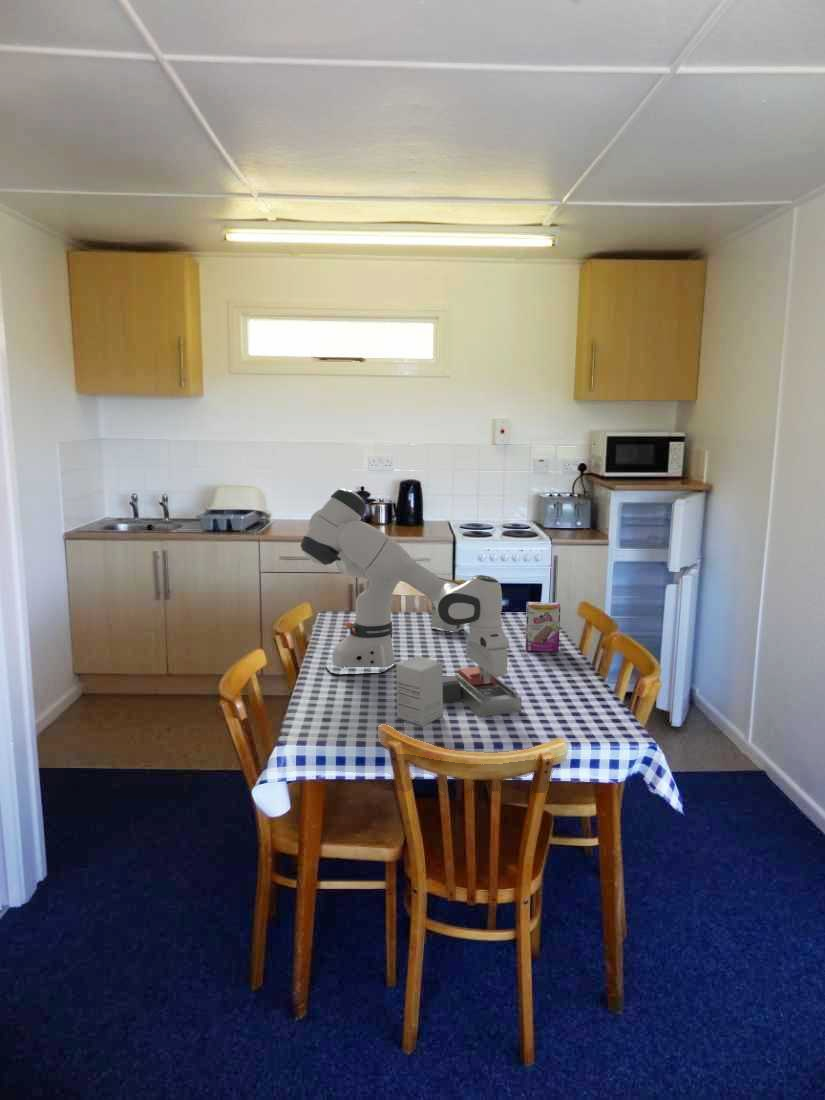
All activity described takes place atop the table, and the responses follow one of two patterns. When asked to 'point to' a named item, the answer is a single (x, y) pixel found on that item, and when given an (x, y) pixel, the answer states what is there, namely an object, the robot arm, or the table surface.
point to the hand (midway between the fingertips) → (485, 682)
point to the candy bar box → (542, 627)
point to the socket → (489, 697)
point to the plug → (451, 689)
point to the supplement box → (419, 690)
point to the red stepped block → (473, 675)
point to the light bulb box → (442, 622)
